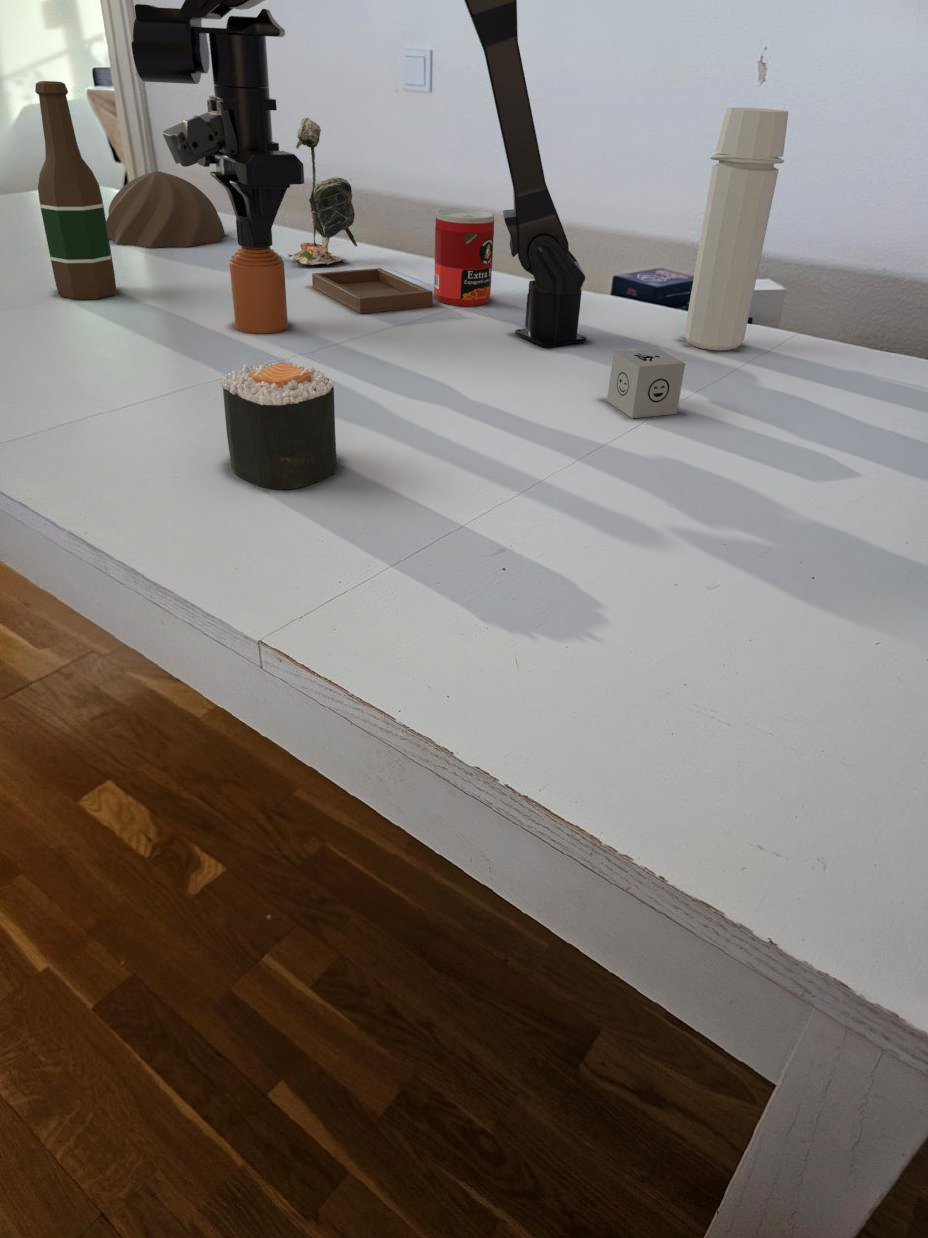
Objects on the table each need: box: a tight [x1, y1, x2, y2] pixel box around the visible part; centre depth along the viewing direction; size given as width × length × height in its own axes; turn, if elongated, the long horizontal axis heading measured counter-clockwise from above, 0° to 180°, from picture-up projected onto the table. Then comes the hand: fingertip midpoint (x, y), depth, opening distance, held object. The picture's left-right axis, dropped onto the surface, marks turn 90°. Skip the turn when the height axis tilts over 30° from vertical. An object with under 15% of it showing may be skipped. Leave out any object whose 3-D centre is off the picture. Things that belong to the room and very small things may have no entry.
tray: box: [311, 267, 433, 315], centre depth 123 cm, size 16×11×2 cm
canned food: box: [433, 208, 495, 307], centre depth 121 cm, size 8×8×11 cm
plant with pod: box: [288, 117, 358, 266], centre depth 136 cm, size 8×11×20 cm
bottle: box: [228, 246, 289, 334], centre depth 105 cm, size 6×6×12 cm
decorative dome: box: [106, 170, 226, 249], centre depth 151 cm, size 19×20×10 cm
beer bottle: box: [34, 80, 117, 301], centre depth 112 cm, size 8×8×24 cm
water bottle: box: [683, 106, 789, 352], centre depth 104 cm, size 9×8×25 cm
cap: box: [235, 212, 273, 248], centre depth 103 cm, size 4×4×3 cm
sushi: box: [219, 361, 338, 490], centre depth 71 cm, size 8×8×8 cm
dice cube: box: [606, 347, 686, 419], centre depth 88 cm, size 5×5×5 cm
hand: (254, 243), depth 103 cm, fingers closed on cap, 3 cm apart
